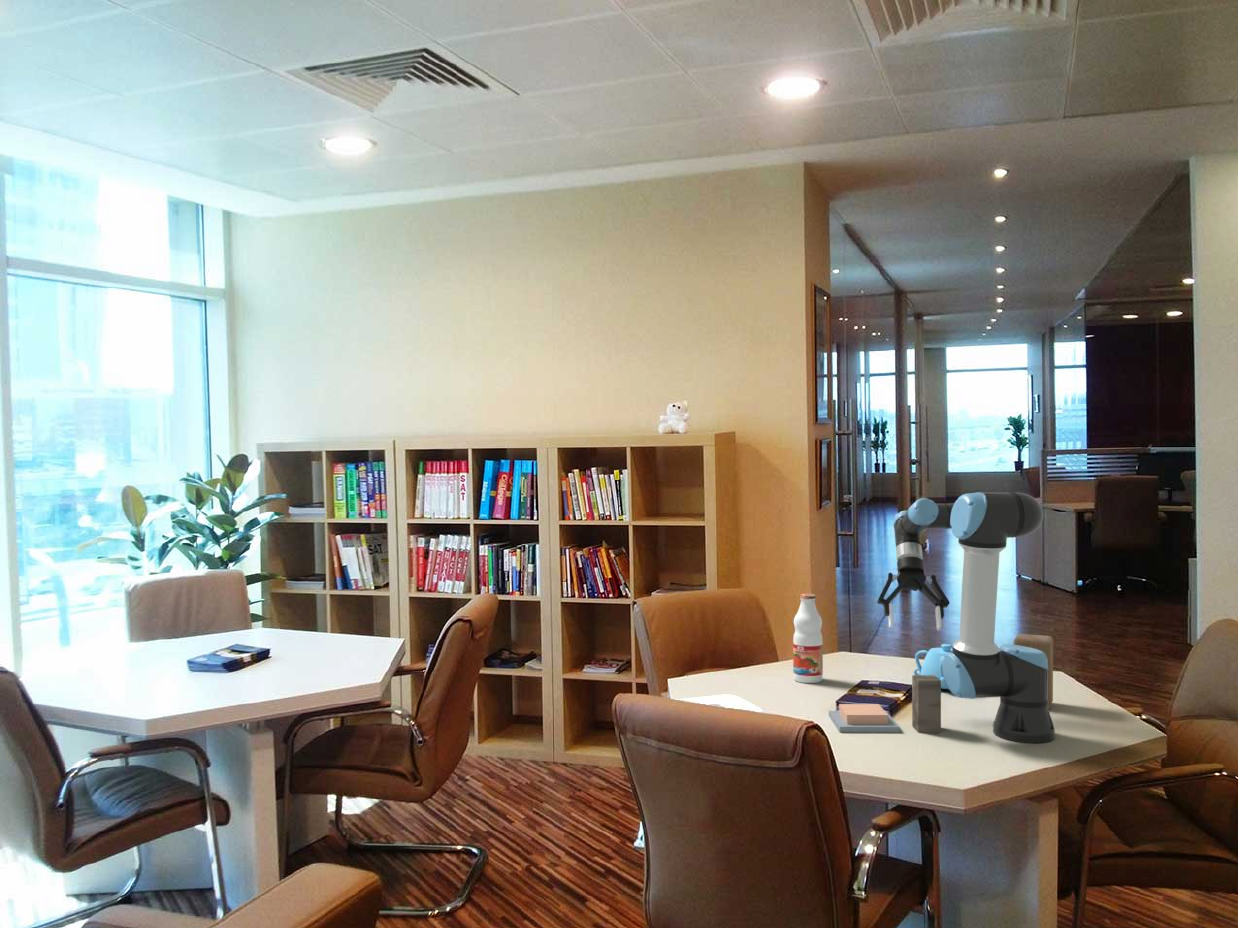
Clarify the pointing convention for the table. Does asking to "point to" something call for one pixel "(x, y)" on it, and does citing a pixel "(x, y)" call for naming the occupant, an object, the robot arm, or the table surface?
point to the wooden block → (1045, 646)
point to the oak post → (926, 703)
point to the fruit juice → (807, 642)
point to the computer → (725, 702)
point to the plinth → (863, 726)
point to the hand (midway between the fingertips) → (915, 627)
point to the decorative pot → (933, 663)
